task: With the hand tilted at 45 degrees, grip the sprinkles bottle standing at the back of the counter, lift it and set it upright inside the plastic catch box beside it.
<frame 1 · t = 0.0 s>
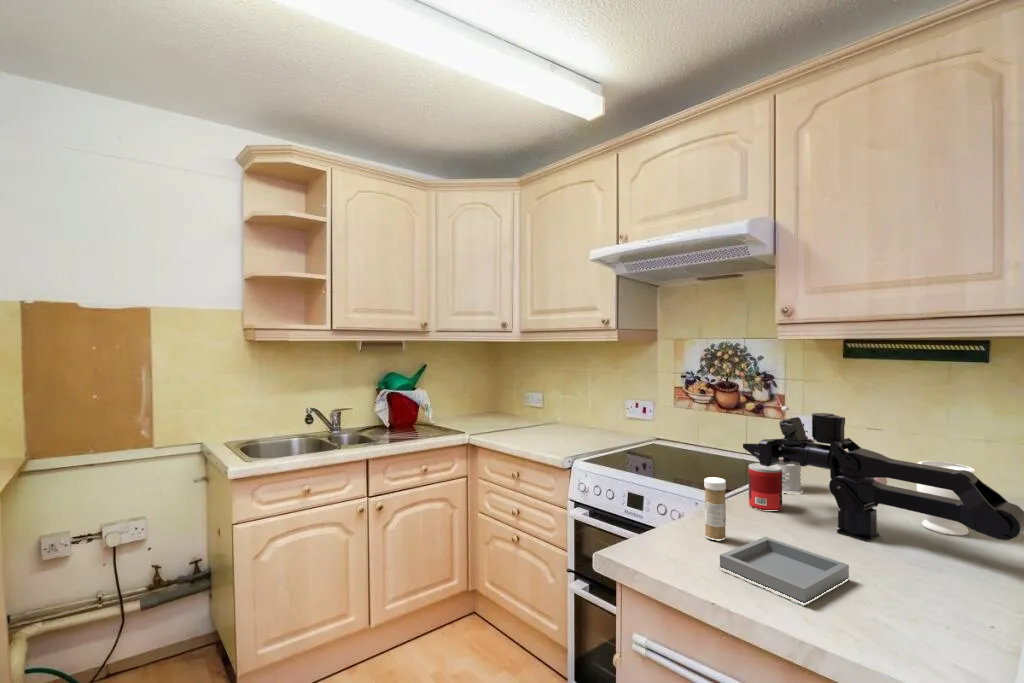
hand: (753, 443, 136), 17 cm above the countertop, tool horizontal, fingers open, 9 cm apart
decorative fruit: (866, 499, 139), on the countertop
sprinkles bottle: (715, 539, 113), on the countertop
canned food: (765, 508, 133), on the countertop
jar: (944, 530, 117), on the countertop
catch box: (782, 575, 95), on the countertop
french press: (783, 489, 149), on the countertop
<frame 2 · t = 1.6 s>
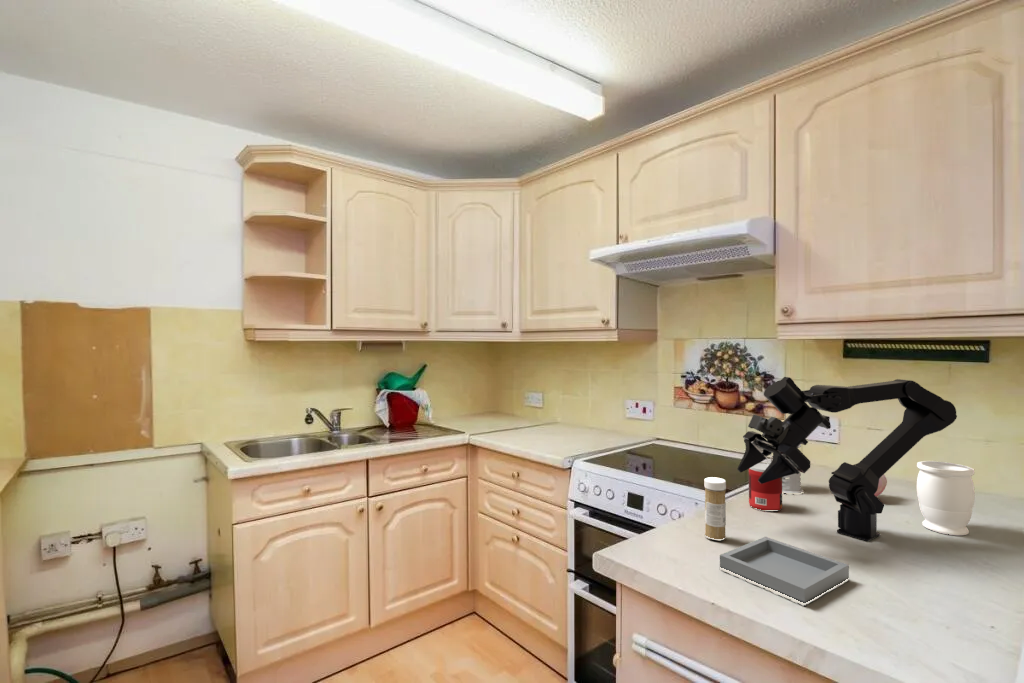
hand: (748, 476, 114), 14 cm above the countertop, tool tilted 45°, fingers open, 9 cm apart
nothing on the countertop moved.
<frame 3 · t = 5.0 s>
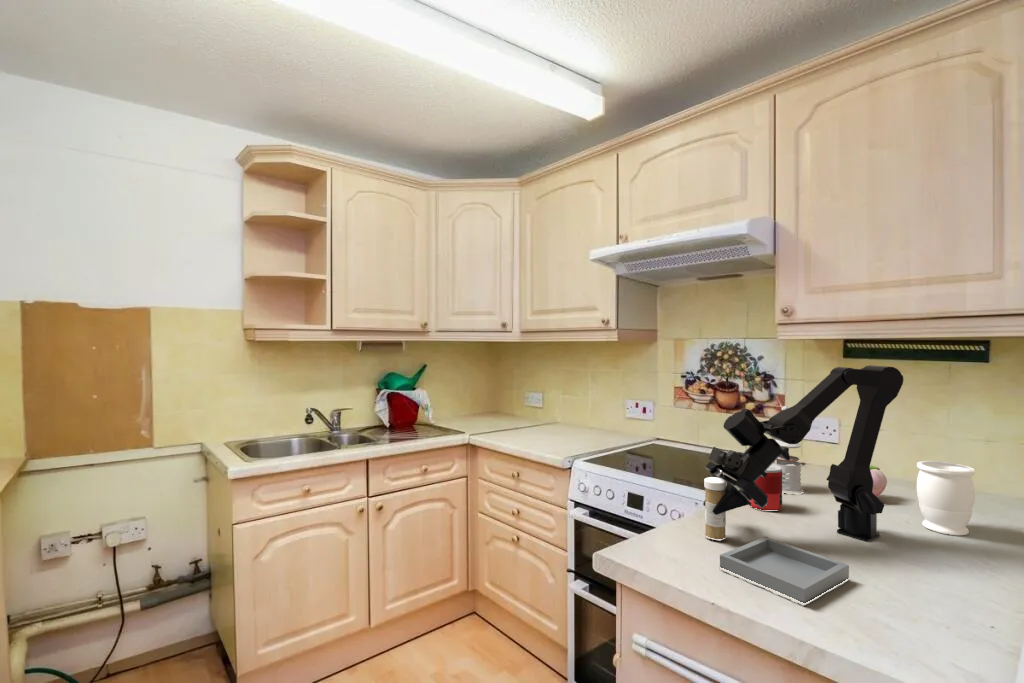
hand: (709, 509, 113), 7 cm above the countertop, tool tilted 45°, fingers closed on sprinkles bottle, 4 cm apart
sprinkles bottle: (715, 539, 113), on the countertop, touching gripper
everything else where it was.
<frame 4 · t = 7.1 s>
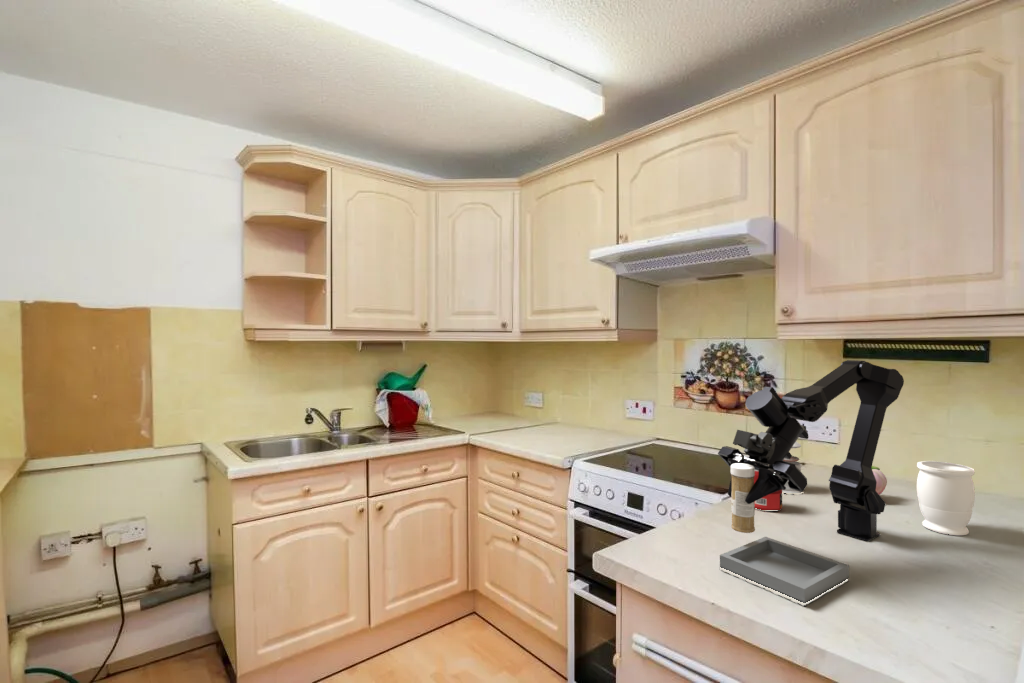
hand: (737, 499, 103), 12 cm above the countertop, tool tilted 45°, fingers closed on sprinkles bottle, 4 cm apart
sprinkles bottle: (743, 530, 103), point 5 cm above the countertop, touching gripper
everything else where it was.
when the fingers open (9 cm above the countertop, at t = 8.9 s): sprinkles bottle drops 1 cm, resting on catch box.
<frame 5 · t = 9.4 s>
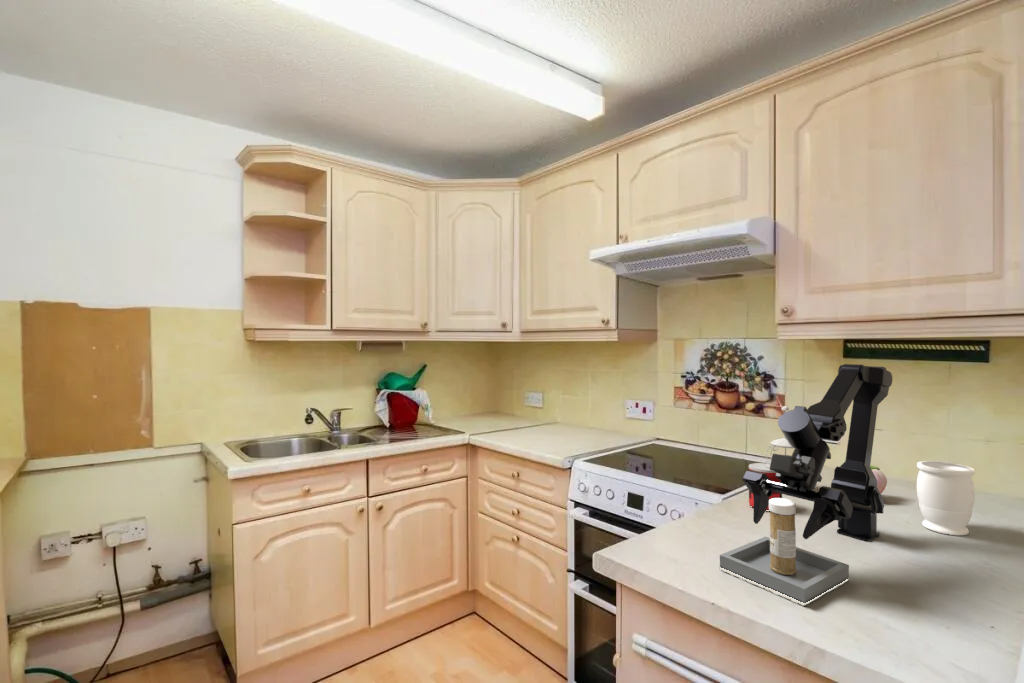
hand: (778, 529, 94), 9 cm above the countertop, tool tilted 45°, fingers open, 9 cm apart
sprinkles bottle: (783, 571, 95), point 1 cm above the countertop, touching catch box
everything else where it was.
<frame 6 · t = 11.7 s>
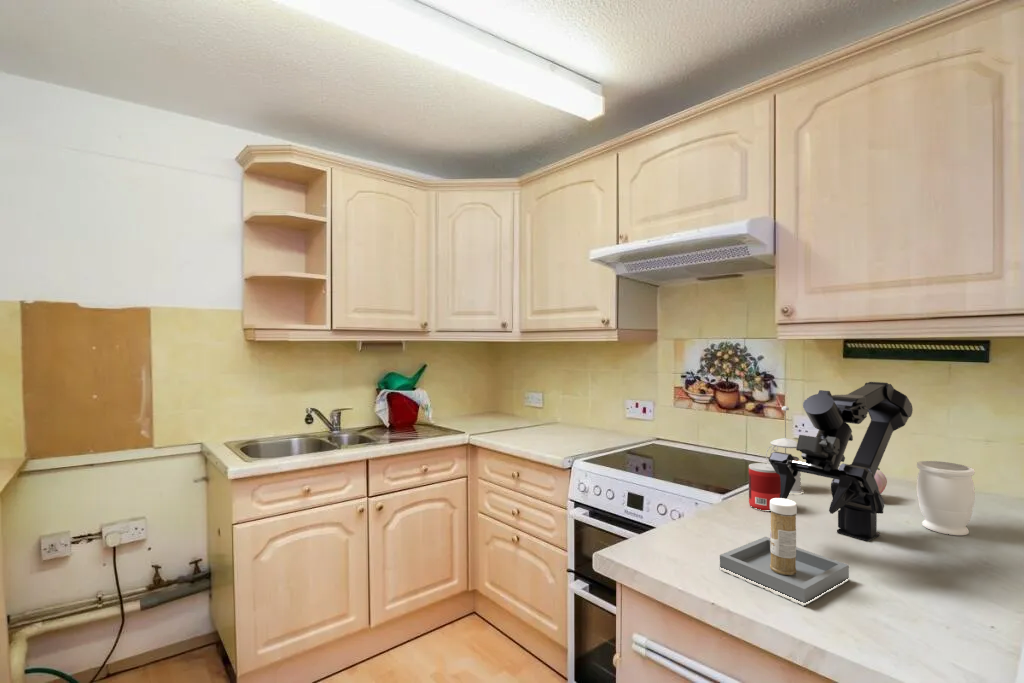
hand: (805, 506, 100), 11 cm above the countertop, tool tilted 45°, fingers open, 9 cm apart
nothing on the countertop moved.
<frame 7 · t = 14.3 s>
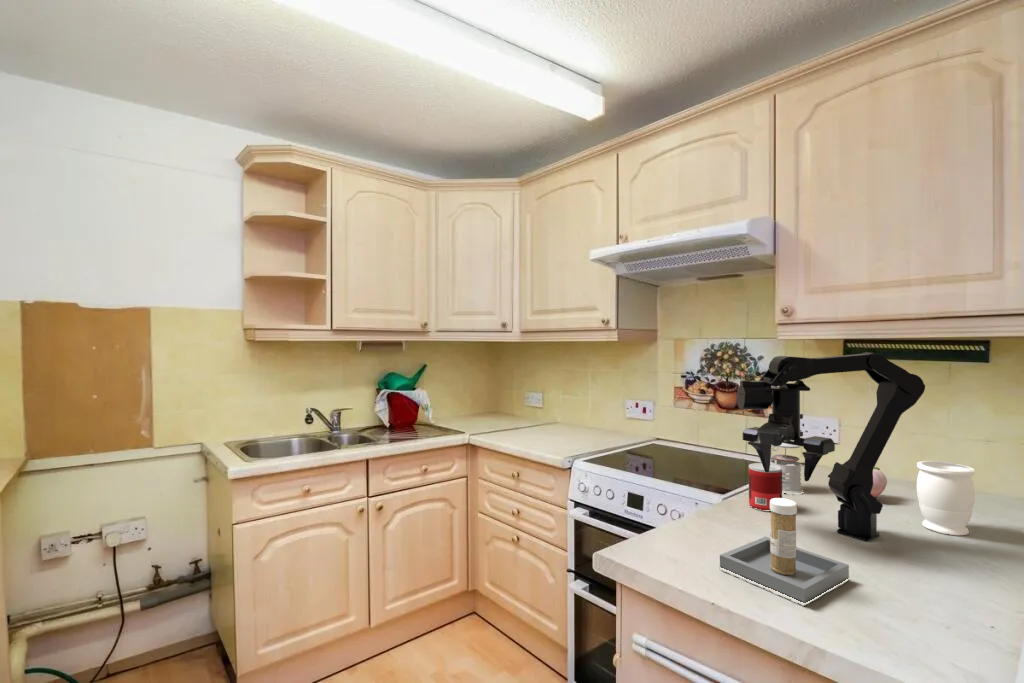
hand: (786, 476, 116), 13 cm above the countertop, tool pointing down, fingers open, 9 cm apart
nothing on the countertop moved.
at the end: sprinkles bottle inside the target area on the catch box (0.2 cm from its centre), point 0.6 cm above the catch box's base; sprinkles bottle tilted 0°; the gripper is holding nothing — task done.
